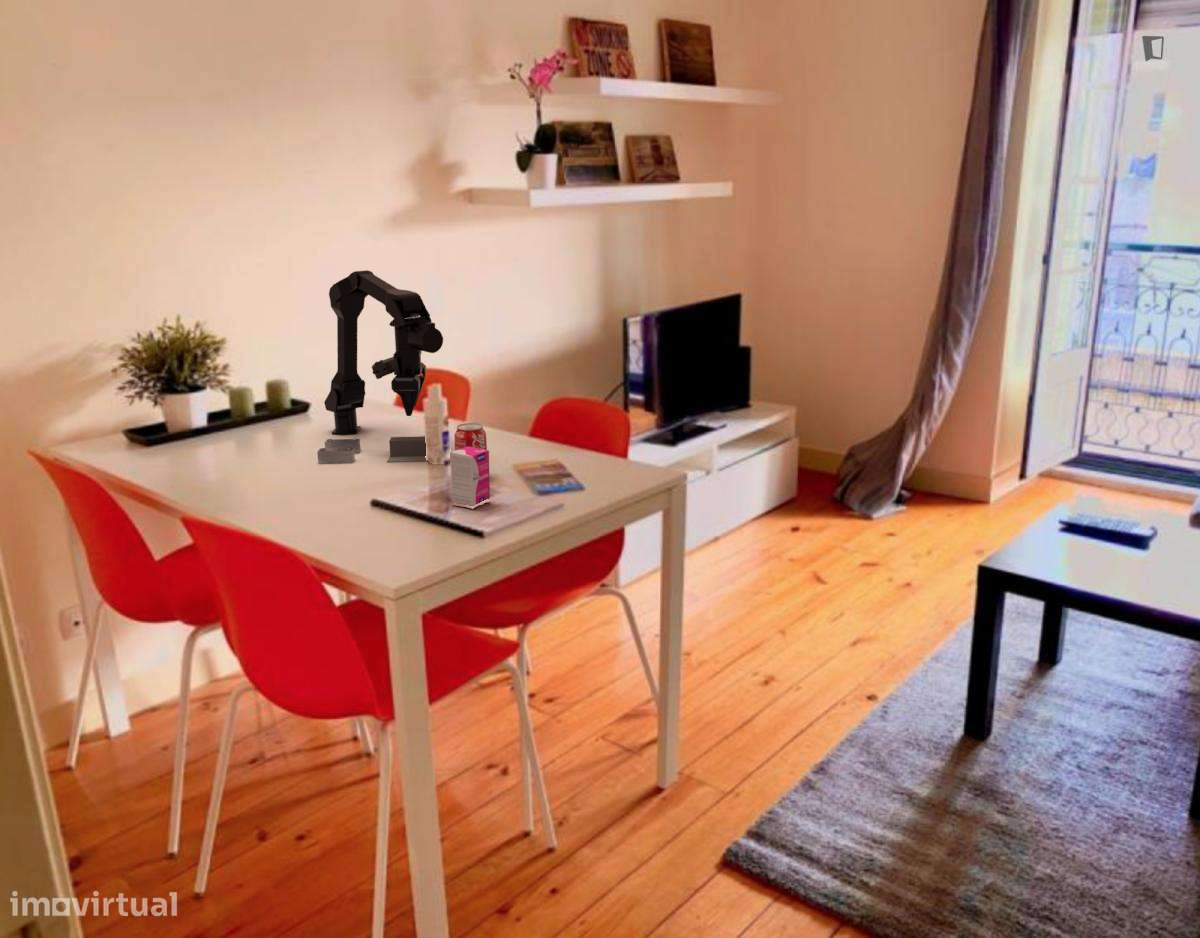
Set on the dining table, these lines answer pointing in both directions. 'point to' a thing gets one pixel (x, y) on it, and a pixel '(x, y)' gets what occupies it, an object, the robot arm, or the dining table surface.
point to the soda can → (470, 436)
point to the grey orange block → (407, 446)
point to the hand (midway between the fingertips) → (411, 411)
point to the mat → (406, 459)
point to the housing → (339, 451)
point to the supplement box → (470, 476)
